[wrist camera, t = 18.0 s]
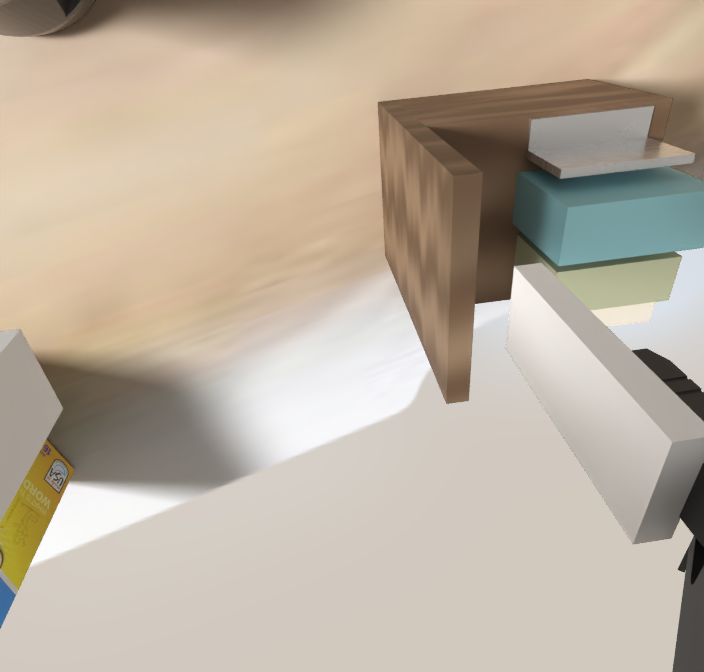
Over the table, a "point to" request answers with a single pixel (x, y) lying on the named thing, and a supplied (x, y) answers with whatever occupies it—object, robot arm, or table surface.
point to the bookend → (599, 143)
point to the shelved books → (611, 282)
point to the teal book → (610, 214)
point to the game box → (29, 520)
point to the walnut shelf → (468, 201)
